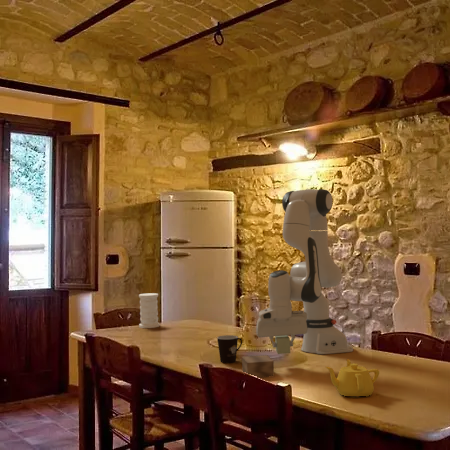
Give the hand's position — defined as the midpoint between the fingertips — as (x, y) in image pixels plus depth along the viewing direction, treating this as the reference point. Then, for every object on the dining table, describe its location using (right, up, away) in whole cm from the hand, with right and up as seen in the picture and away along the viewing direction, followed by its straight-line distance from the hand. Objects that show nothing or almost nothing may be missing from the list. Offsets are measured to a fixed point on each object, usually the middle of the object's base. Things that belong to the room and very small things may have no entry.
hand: (282, 346), depth 237 cm
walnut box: (-10, -9, -11) cm, 17 cm away
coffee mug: (-20, -9, +11) cm, 25 cm away
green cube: (0, -2, 0) cm, 2 cm away
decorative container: (-66, -9, +99) cm, 119 cm away
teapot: (+19, -8, -39) cm, 44 cm away
